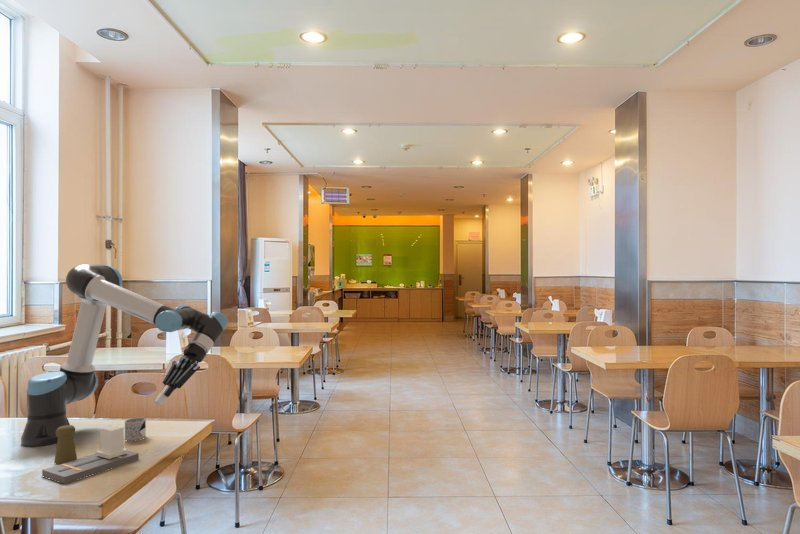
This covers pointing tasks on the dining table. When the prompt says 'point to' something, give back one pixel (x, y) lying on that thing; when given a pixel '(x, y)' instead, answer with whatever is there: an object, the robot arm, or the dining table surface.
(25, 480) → the dining table surface
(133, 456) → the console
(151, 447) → the dining table surface
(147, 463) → the dining table surface
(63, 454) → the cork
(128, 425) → the mug
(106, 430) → the slider handle
